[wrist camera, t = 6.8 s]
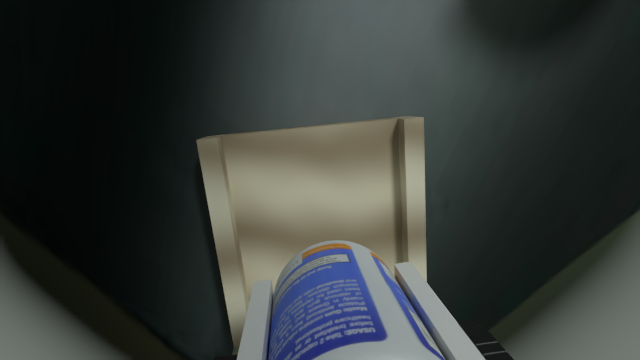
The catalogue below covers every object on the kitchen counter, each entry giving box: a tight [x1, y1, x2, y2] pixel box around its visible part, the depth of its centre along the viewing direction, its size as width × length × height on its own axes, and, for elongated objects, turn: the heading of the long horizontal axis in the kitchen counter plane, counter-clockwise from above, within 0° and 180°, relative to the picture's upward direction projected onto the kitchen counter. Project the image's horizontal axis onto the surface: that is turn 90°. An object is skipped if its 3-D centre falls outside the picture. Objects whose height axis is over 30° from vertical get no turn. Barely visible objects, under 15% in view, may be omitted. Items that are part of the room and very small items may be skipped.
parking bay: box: [196, 116, 427, 355], centre depth 21 cm, size 15×13×4 cm
